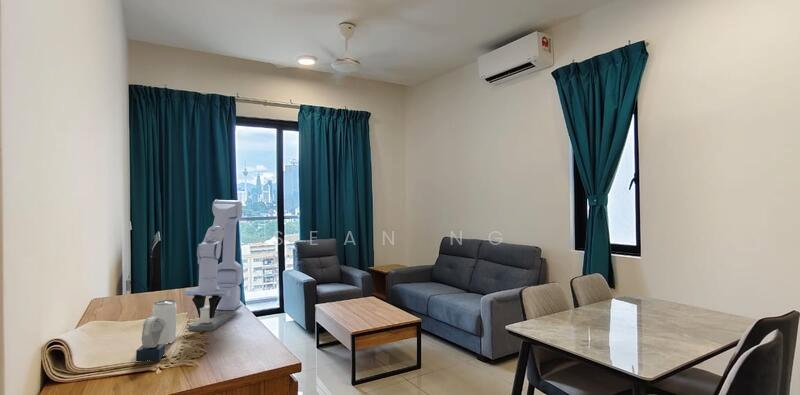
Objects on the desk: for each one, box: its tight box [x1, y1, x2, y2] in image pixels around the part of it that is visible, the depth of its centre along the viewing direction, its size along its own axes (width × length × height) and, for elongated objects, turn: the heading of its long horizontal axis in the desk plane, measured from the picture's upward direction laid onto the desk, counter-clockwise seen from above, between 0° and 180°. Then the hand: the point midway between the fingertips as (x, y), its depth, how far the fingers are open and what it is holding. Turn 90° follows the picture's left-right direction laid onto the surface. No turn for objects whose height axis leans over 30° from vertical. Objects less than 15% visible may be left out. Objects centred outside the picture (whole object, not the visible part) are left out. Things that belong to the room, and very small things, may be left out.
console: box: [188, 311, 235, 332], centre depth 144 cm, size 18×8×2 cm, turn 1°
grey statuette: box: [135, 316, 166, 362], centre depth 110 cm, size 6×8×11 cm
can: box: [151, 299, 178, 344], centre depth 123 cm, size 6×6×12 cm
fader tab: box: [199, 304, 213, 323], centre depth 139 cm, size 4×3×5 cm
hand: (206, 317), depth 139 cm, fingers closed on fader tab, 3 cm apart
